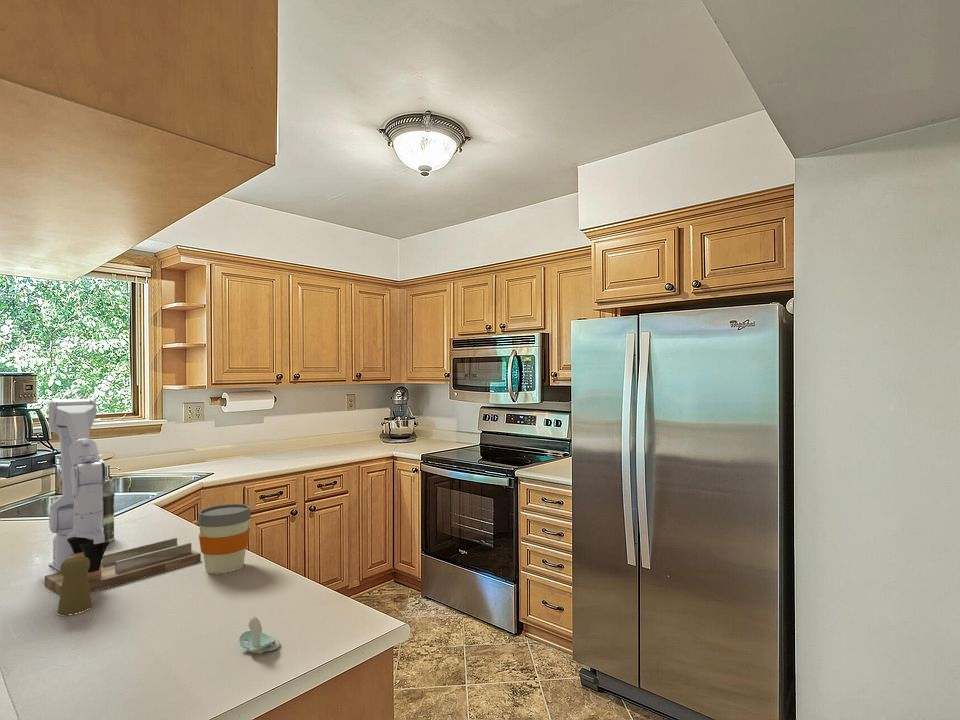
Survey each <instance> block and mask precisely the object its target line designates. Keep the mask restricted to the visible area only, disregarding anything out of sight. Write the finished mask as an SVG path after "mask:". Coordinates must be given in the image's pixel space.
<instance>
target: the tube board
mask: <svg viewBox="0 0 960 720" xmlns="http://www.w3.org/2000/svg"><path fill="white" fill-rule="evenodd" d="M201 554H202V552H198V551H196V550H192V542H188V543H187V542H186V543H182V544H178V537H172V538H168V539H164V540H159V541H155V542H152V543H148V544H144V545H139V546H135V547H131V548H130V547H129V548H126V549H122V550H119V551H118V550H117V551H114V552H110V553H106V554H105V553H104V554H103V557H102V561H101V574H99V575H95V576H92V577H88V582H89V588H90V591H93V592H95V591H94V590H96V591H98V590H97V589H100V590H102V589H101V588H103V589H106V588H105V587H107V588H109V587H108V586H110V587H113V586H112V585H114V586H116V585H115V584H117V585H120V584H119V583H121V584H123V583H122V582H124V583H127V582H126V581H128V582H131V581H134V580H133V579H135V580H138V579H142V578H145V577H144V576H146V577H149V576H152V574H153V575H156V574H160V573H162V571H163V572H167V571H169V569H170V570H173V569H172V568H174V569H177V568H180V566H181V567H184V566H187V564H188V565H191V564H194V562H195V563H197V561H198V562H201V561H200V560H202V557H201V556H202V555H201ZM190 563H191V564H190ZM183 565H184V566H183ZM176 567H177V568H176ZM166 570H167V571H166ZM159 572H160V573H159ZM155 573H156V574H155ZM148 575H149V576H148ZM141 577H142V578H141ZM137 578H138V579H137ZM130 580H131V581H130ZM62 582H63V575H62V574H61V572H60V571H58V572H56V573H51V574H47V575H44V585H45V584H46V585H47V587H48V586H49V587H50V588H49V587H48V588H49V589H51V588H52V589H53V590H52V589H51V590H52V591H54V592H55V593H57V592H58V593H57V594H59V595H60V594H61V588H62ZM46 585H45V586H46Z"/></svg>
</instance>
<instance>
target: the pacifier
mask: <svg viewBox="0 0 960 720" xmlns="http://www.w3.org/2000/svg"><path fill="white" fill-rule="evenodd" d="M248 628H249V630H247V631H245V632H243V633H241V634H240V636H239V639H238V641H239V642H238V643H239V645H240V646H241V647H242V648H244V649H246V650H249V652H250V653H253V654H262V653H263V654H264V653H265V652H273V651H275V650H277V649H279V647H280V646H281V642H280V641H279V639H277V638H276V637H273V636H270V635H268V634H266V633H265V632H263V627H262V624H261V621H260V620H259V619H258V617H257V616H255V615H252V616H251V617H250V619H249V620H248ZM272 644H273V645H272Z"/></svg>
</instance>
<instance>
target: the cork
mask: <svg viewBox="0 0 960 720" xmlns="http://www.w3.org/2000/svg"><path fill="white" fill-rule="evenodd" d="M89 567H90V560H89V559H88V558H87V557H83V556H80V557H73V558H69V559H67V560H65V561H64V562H62V564H61V567H60V571H59V572H61V574H62V575H63V582H62V588H61V594H59V595H60V596H59V602H58V608H57V613H58V614H60V615H69V614H75V613H79V612H82V611H85V610H87V609H89V608H91V607H92V608H93V602H92V596H91V592H90V588H89V582H88V575H87V571H88V570H89ZM92 608H91V609H92ZM89 610H90V609H89ZM85 612H86V611H85ZM58 614H57V615H58Z"/></svg>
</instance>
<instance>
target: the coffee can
mask: <svg viewBox="0 0 960 720" xmlns="http://www.w3.org/2000/svg"><path fill="white" fill-rule="evenodd" d="M102 510H103V512H102V527H103V534H105V540H109V541H110V542H109V543H111V542H113V541H114V540H115V492H113V491H103V508H102Z"/></svg>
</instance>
